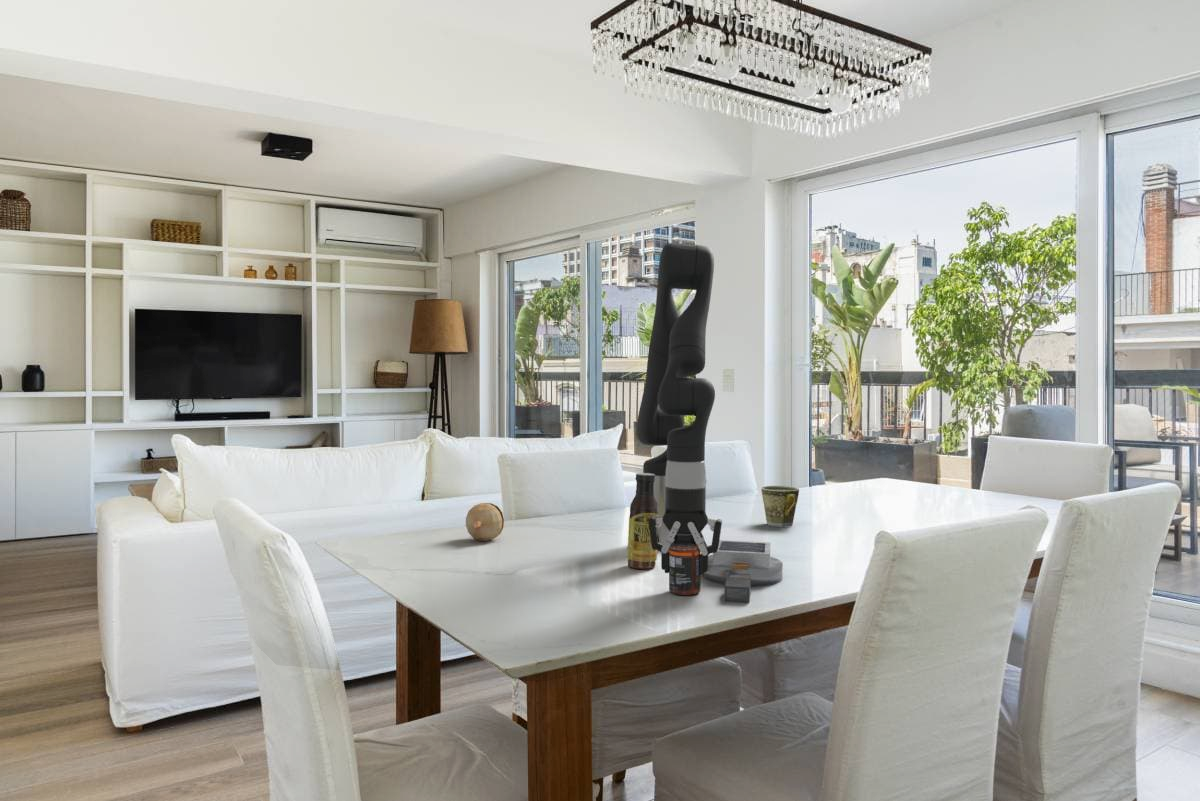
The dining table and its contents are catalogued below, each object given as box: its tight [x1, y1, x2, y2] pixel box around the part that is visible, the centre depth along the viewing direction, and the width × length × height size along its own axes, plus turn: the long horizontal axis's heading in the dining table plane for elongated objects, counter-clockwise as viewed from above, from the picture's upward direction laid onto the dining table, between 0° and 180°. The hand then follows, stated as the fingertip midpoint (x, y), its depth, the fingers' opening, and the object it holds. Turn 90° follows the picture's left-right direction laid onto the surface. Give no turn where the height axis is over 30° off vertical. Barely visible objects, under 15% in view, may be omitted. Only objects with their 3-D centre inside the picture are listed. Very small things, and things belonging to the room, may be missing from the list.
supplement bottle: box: [668, 534, 702, 596], centre depth 156 cm, size 6×6×11 cm
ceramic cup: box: [761, 485, 800, 528], centre depth 224 cm, size 13×10×10 cm
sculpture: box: [465, 502, 505, 542], centre depth 202 cm, size 9×9×15 cm
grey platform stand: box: [702, 539, 784, 604], centre depth 163 cm, size 16×28×6 cm, turn 168°
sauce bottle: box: [627, 472, 658, 570], centre depth 176 cm, size 7×6×20 cm
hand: (684, 572), depth 157 cm, fingers closed on supplement bottle, 6 cm apart
